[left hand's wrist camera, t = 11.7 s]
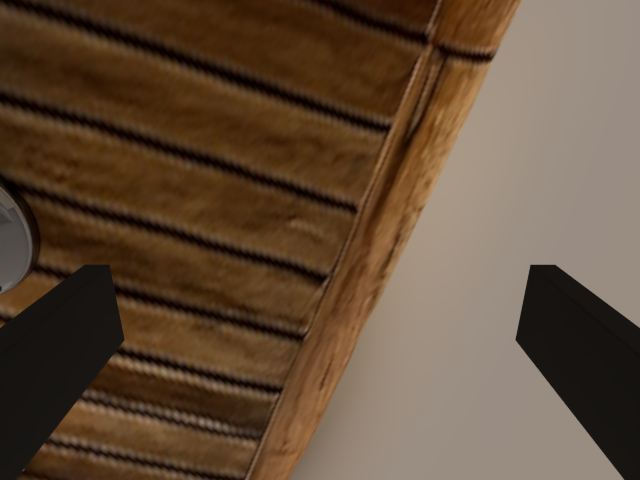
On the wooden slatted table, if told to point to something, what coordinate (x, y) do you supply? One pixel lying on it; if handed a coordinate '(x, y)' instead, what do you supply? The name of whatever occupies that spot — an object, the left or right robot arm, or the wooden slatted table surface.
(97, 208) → the wooden slatted table surface
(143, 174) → the wooden slatted table surface
